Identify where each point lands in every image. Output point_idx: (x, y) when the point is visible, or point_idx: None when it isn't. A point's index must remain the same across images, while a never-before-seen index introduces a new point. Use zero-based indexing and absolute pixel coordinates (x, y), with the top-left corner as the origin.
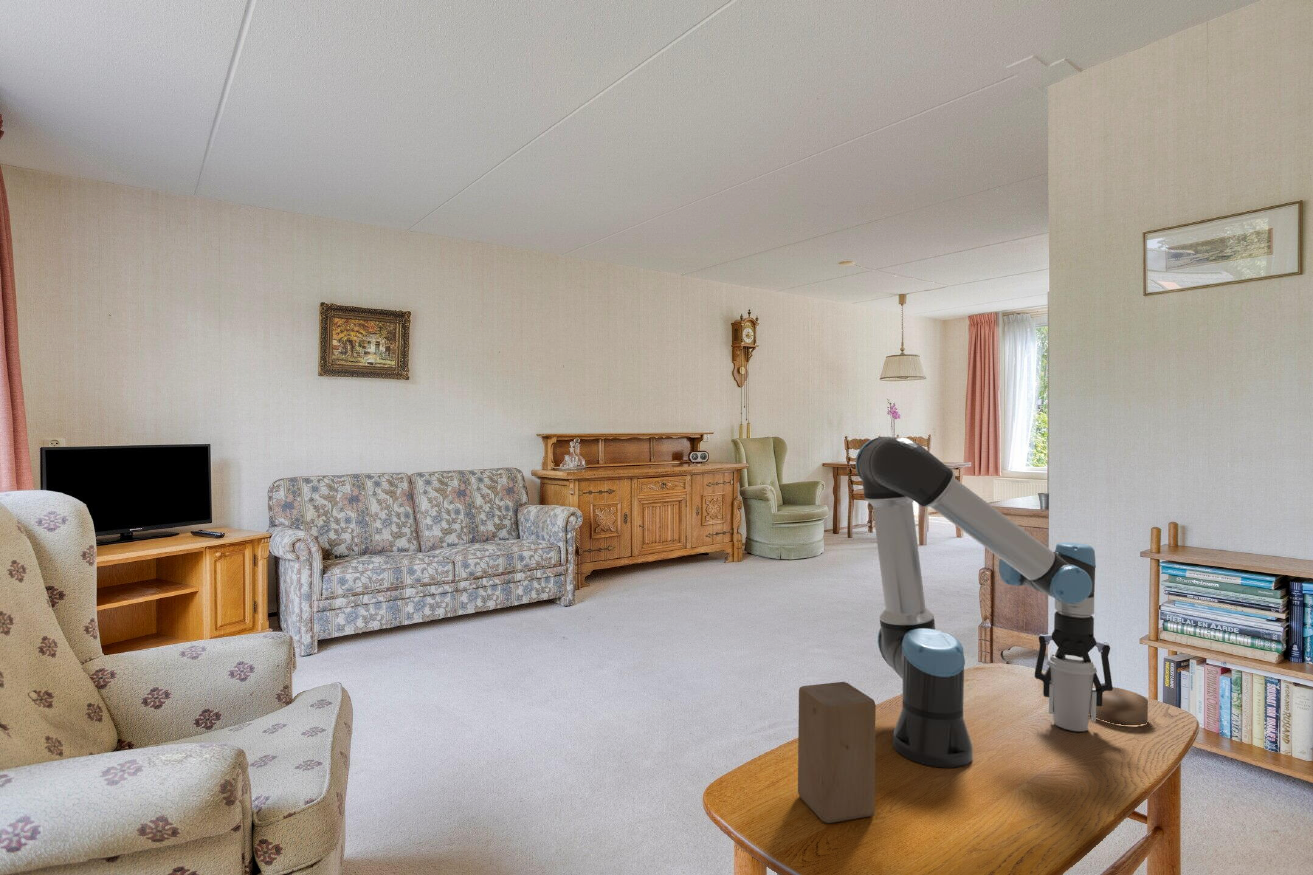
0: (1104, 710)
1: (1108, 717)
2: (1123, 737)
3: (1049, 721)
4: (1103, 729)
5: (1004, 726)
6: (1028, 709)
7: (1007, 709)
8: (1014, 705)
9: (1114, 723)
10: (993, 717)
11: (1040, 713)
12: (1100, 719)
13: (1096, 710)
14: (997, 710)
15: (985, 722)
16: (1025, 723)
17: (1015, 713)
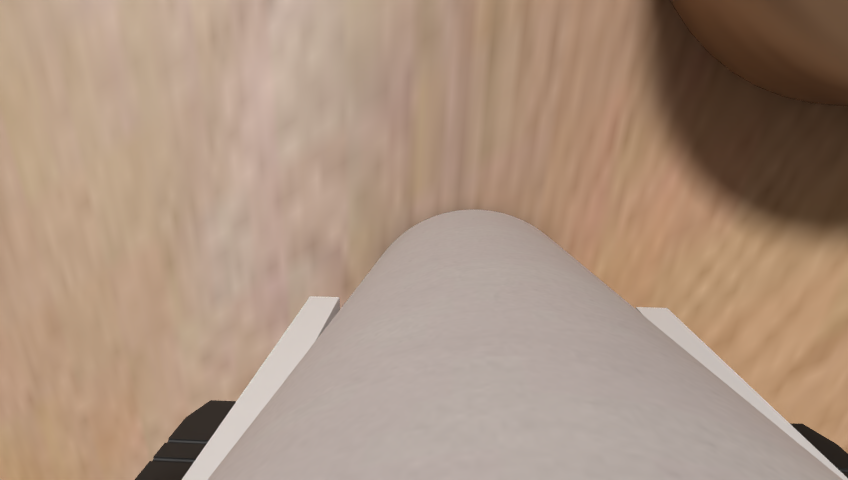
0: (825, 72)
1: (810, 93)
2: (790, 334)
3: (341, 275)
4: (691, 249)
5: (116, 470)
6: (185, 93)
7: (57, 179)
8: (77, 53)
9: (823, 102)
10: (28, 370)
11: (275, 139)
12: (727, 60)
13: (743, 28)
14: (9, 236)
15: (17, 460)
16: (208, 379)
17: (122, 233)
